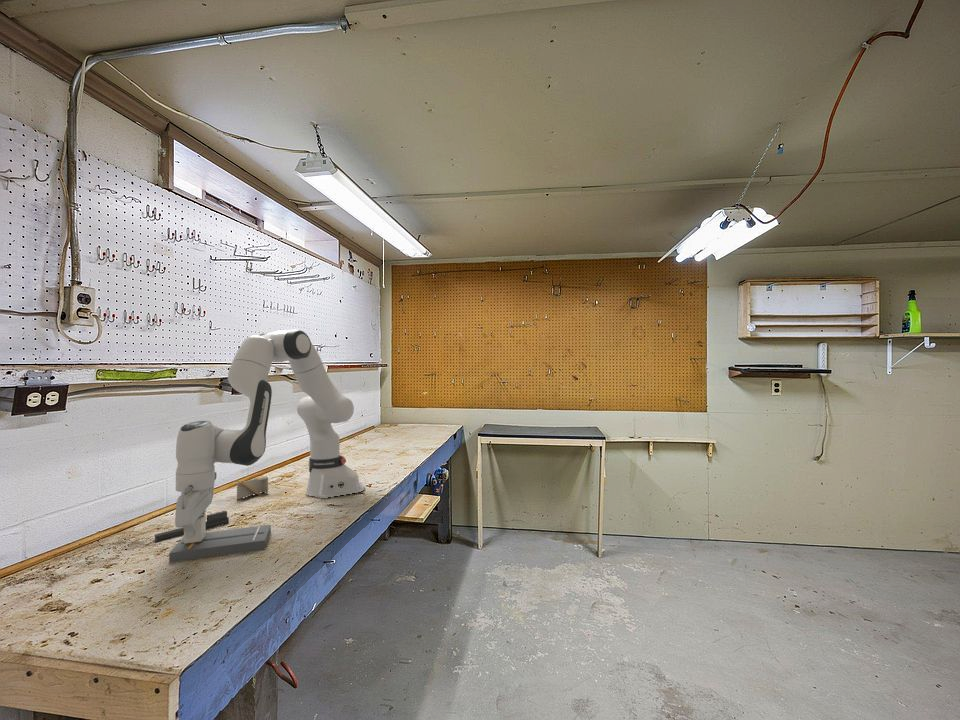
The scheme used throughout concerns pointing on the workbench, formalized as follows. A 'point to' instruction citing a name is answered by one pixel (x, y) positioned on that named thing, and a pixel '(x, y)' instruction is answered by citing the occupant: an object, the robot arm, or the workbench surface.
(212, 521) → the dark grey bar
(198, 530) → the fader cap
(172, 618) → the workbench surface
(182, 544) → the slider console
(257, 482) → the model
